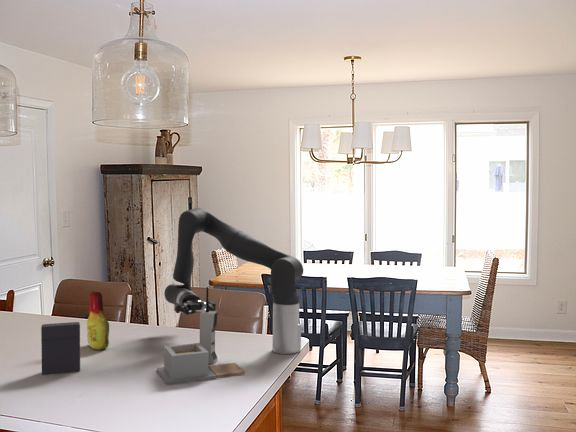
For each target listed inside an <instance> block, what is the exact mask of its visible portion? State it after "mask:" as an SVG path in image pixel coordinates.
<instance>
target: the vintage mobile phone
mask: <svg viewBox="0 0 576 432" xmlns="http://www.w3.org/2000/svg"><path fill="white" fill-rule="evenodd" d="M205 293H206V297H205V298H206V299H205V302H206V311H203V312H201V311H200V313H199V343H200V344H201V345H202V346H203V347H204V348H205V349H206V350H207V351H208V352H209V361H208V365H215V363H216V362H217V361H218V355H217V353H216V348H215V347H216V328H217V324H218V315H219V312H218V310H216V311H209V302H208V301H209V286H206V292H205Z"/></svg>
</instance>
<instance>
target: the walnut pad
mask: <svg viewBox="0 0 576 432" xmlns="http://www.w3.org/2000/svg"><path fill="white" fill-rule="evenodd" d="M208 368H209V369H210V370H211V371H212V372H213V373H214V374H215V375H216V379H218V378H227V377H234V376H242V375H246V371H244V369H243V368H242V367H240V366H239V365H238V364H237V363H236V362H227V363H220V364H208Z"/></svg>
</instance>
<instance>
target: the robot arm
mask: <svg viewBox="0 0 576 432" xmlns="http://www.w3.org/2000/svg"><path fill="white" fill-rule="evenodd" d="M177 226H178V227H177V252H176V258H175V259H176V260H175V265H174V268H173V275H172V277H173V280H174V281H175V282H176V283H180V284H176V283H175V284H172V283H171V284H169V285H167V286H166V287H165V289H164V294H163V295H164V298H165V300H166V301H167V302H168V303H169V304H173V310H174V312H175V313H176V314H180V313H181V314H184V315H186V316H189V315H193V314H194V315H195V314H196V313H198V312H200V313H201V312H203V311H206V301H204V300H202V299H201V297H200V296H198V295H197V294H196V293H194V292H193V291H192V276H193V275H192V274H193V271H194V265H195V259H194V257H195V256H194V254H193V248H192V245H193V241H194V237H195V235H196V234H197V233H200V232H203V233H206V234H208V235H209V236H212V237H213V238H215V239H216V240H217V241H218V242H219V243H220V245H221V247H222V248H223V249H224V250H225V251H226V252H228V254H231V255H232V256H234V257H236V258H238V259H241V260H243V261H246V262H249V263H253V264H257V265H259V266H260V265H261V266H264V267H266V268H268V269H270V292H271V296H272V352H274V353H276V354H283V355H292V354H296V353H299V352H301V351H302V346H301V345H302V344H301V343H302V325H301V324H300V295H299V294H298V293H297V292H296V282H297V281H298V280H299V279H301V278H302V276H303V275H304V266H303V264H302V263H301V261H300V260H299V259H298V258H297V257H294V256H292V255H290V254H287V253H285V252H282V251H279V250H277V249H275V248H272V247H271V246H269V245H268V244H266V243H264V242H262V241H260V240H259V239H257V238H255V237H253V236H252V235H250V234H249V233H246V232H245V231H243V230H240V229H238V228H236V227H235V226H232V225H230V224H228V223H227V222H224V221H223V220H221V219H219V218H218V217H217V216H215V215H214V214H212V213H210V212H209V211H207V209H204V208H201V207H195V208H192V209H188V210H185V211H183V212H182V213H181V214H180V216H179V218H178V225H177ZM208 302H209V311H217V308H216V307H217V303H216V302H214V301H212V300H208Z"/></svg>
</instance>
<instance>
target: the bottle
mask: <svg viewBox="0 0 576 432" xmlns="http://www.w3.org/2000/svg"><path fill="white" fill-rule="evenodd" d="M103 302H104V301H103V295H102V293H101V292H100V291H91V293H90V294H89V316H88V317H87V320H86V331H87V333H86V337H87V343H88V345H89V346H90V347H91V348H92V349H95V350H99V351H101V350H105V349H107V348H108V347H109V343H110V342H109V335H110V324H109V321H108V319H107V316H106V315H105V314H104V303H103Z"/></svg>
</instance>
